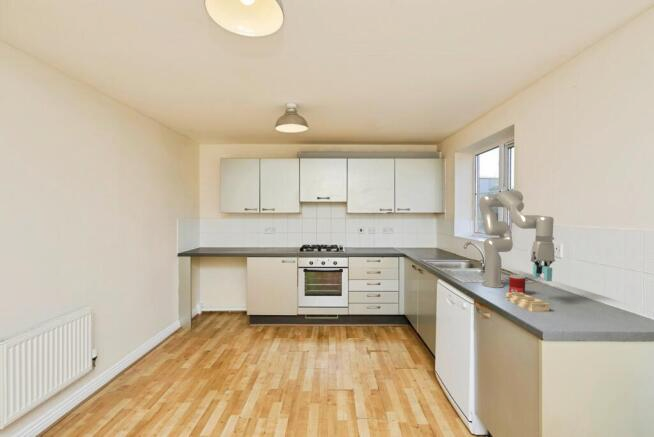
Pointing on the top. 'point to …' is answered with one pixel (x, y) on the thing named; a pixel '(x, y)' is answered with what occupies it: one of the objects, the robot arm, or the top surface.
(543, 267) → the teal long block
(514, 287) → the canned food
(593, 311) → the top surface
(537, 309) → the tan slotted block
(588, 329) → the top surface
